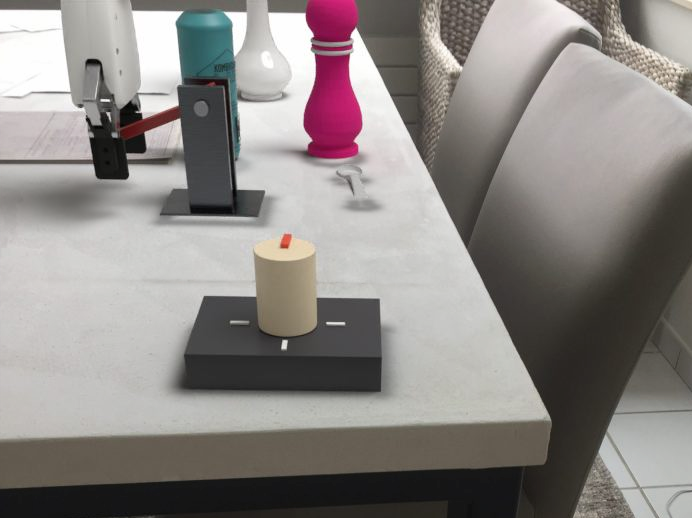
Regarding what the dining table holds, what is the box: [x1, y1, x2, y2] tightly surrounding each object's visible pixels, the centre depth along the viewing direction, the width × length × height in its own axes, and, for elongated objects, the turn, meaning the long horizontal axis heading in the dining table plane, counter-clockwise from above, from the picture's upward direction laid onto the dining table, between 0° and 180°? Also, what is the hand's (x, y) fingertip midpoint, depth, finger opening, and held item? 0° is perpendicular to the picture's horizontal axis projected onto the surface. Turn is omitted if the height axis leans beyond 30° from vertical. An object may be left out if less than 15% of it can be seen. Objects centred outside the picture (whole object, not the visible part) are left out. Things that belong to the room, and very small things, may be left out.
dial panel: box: [183, 295, 383, 393], centre depth 68 cm, size 14×10×3 cm
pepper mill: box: [302, 0, 364, 160], centre depth 105 cm, size 7×7×20 cm
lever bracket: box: [159, 76, 266, 218], centre depth 91 cm, size 10×8×13 cm
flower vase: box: [234, 0, 293, 102], centre depth 129 cm, size 13×18×25 cm
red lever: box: [120, 82, 216, 140], centre depth 89 cm, size 12×5×2 cm, turn 91°
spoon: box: [336, 163, 369, 199], centre depth 101 cm, size 3×12×2 cm, turn 10°
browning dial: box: [253, 233, 318, 337], centre depth 65 cm, size 4×4×6 cm
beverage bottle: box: [174, 7, 242, 159], centre depth 101 cm, size 6×7×20 cm
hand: (122, 164), depth 92 cm, fingers open, 8 cm apart
